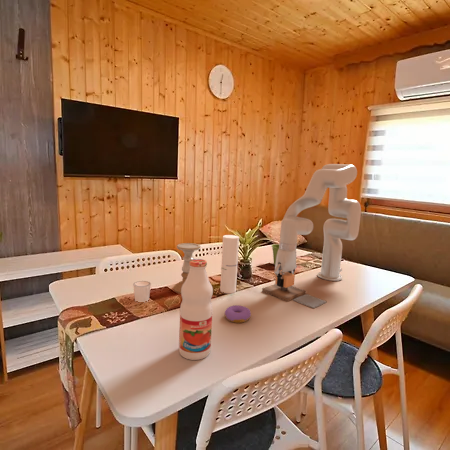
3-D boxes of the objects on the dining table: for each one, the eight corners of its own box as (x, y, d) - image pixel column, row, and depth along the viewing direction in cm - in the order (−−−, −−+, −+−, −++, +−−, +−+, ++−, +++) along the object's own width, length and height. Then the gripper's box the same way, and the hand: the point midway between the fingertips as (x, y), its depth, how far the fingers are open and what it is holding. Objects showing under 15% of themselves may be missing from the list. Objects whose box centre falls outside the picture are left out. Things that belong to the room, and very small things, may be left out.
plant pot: (291, 268, 184) (293, 249, 182) (271, 267, 184) (272, 248, 182) (288, 262, 196) (289, 244, 194) (268, 261, 196) (270, 243, 194)
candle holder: (206, 289, 144) (208, 246, 141) (185, 296, 135) (187, 250, 132) (188, 282, 153) (190, 241, 149) (167, 288, 144) (168, 244, 140)
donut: (234, 309, 125) (237, 298, 124) (253, 321, 120) (256, 310, 119) (218, 317, 118) (221, 306, 116) (237, 330, 112) (240, 319, 111)
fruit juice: (204, 341, 101) (207, 255, 96) (215, 357, 93) (219, 264, 88) (175, 346, 97) (177, 257, 93) (184, 363, 89) (187, 267, 84)
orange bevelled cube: (283, 281, 149) (284, 270, 148) (293, 285, 145) (294, 274, 144) (275, 283, 145) (276, 273, 144) (285, 287, 141) (286, 276, 140)
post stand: (280, 285, 155) (282, 268, 154) (305, 294, 145) (307, 276, 144) (262, 291, 146) (263, 274, 144) (287, 301, 136) (288, 283, 134)
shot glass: (153, 298, 132) (154, 282, 131) (144, 304, 126) (144, 287, 124) (139, 295, 134) (139, 279, 133) (129, 301, 128) (129, 284, 127)
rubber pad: (306, 295, 144) (306, 294, 144) (326, 302, 137) (326, 301, 137) (293, 300, 137) (293, 299, 137) (313, 308, 130) (313, 307, 130)
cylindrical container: (234, 294, 141) (237, 238, 137) (218, 292, 142) (221, 237, 138) (237, 288, 148) (240, 235, 144) (222, 286, 149) (224, 234, 145)
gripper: (292, 242, 150) (289, 279, 153) (268, 247, 139) (265, 286, 142) (305, 245, 145) (302, 283, 148) (282, 250, 133) (279, 291, 136)
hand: (284, 284), depth 145 cm, fingers closed on orange bevelled cube, 6 cm apart
